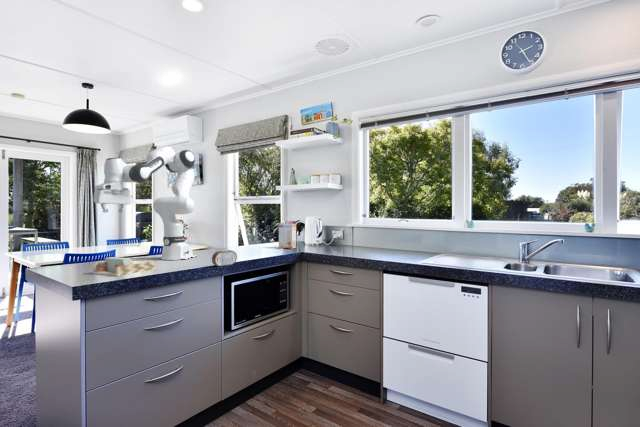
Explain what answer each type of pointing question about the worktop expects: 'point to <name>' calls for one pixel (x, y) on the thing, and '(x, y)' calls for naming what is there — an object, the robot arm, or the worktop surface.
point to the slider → (116, 262)
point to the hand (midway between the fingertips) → (113, 212)
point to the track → (123, 268)
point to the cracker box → (287, 235)
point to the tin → (224, 258)
